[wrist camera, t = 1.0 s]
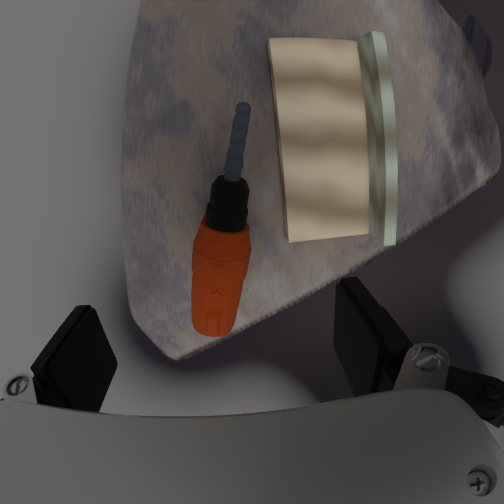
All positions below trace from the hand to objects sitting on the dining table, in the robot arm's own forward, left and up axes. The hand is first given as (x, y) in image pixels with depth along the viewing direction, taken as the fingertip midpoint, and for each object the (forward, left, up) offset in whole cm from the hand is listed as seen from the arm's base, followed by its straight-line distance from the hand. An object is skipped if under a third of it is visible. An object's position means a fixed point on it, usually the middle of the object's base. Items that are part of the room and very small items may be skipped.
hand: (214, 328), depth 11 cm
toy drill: (0, 0, -23) cm, 23 cm away
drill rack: (-6, +12, -23) cm, 26 cm away
